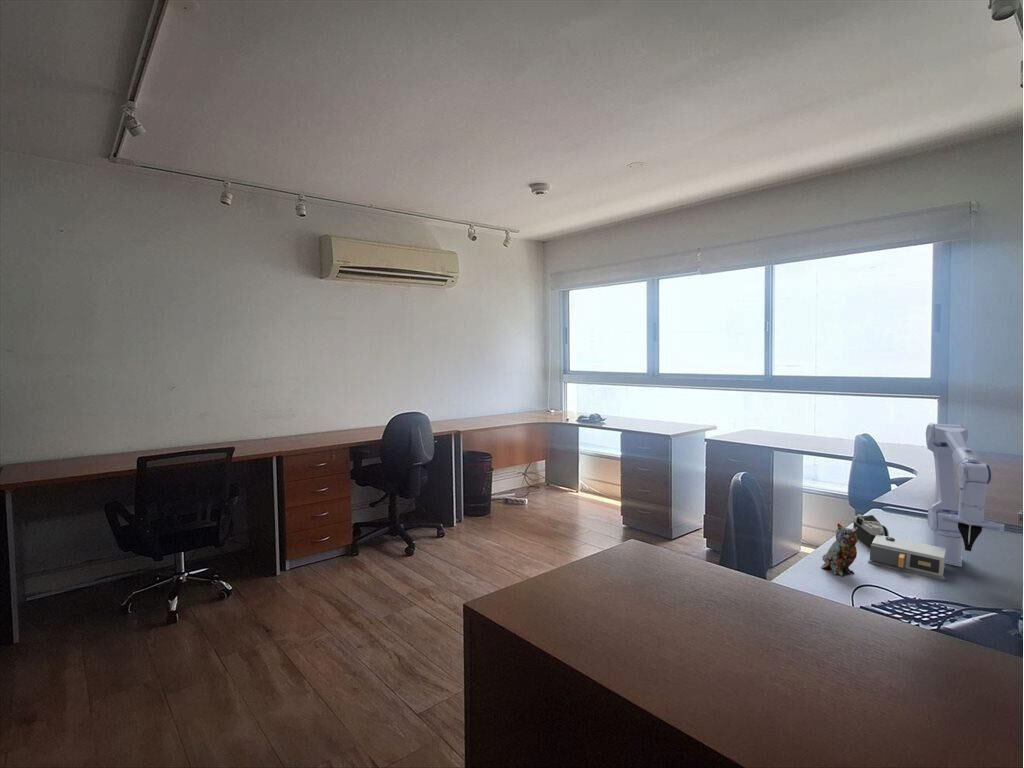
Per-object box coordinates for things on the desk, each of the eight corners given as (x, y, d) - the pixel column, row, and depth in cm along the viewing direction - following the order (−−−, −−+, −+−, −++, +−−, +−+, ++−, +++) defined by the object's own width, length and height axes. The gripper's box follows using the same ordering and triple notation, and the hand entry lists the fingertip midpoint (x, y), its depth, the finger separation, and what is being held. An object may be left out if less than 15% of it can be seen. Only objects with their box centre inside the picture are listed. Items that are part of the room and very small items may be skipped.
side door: (870, 558, 172) (871, 544, 172) (905, 566, 166) (906, 552, 166) (867, 563, 168) (868, 548, 168) (903, 572, 162) (904, 556, 162)
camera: (898, 554, 179) (900, 524, 178) (869, 552, 180) (871, 522, 179) (875, 537, 194) (877, 509, 193) (849, 535, 196) (850, 508, 195)
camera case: (873, 551, 180) (874, 532, 180) (946, 567, 168) (948, 547, 168) (867, 562, 171) (869, 542, 171) (944, 580, 159) (946, 558, 158)
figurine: (844, 565, 169) (847, 518, 168) (862, 578, 160) (865, 528, 159) (816, 565, 169) (819, 518, 168) (833, 577, 160) (836, 528, 159)
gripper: (938, 502, 159) (935, 547, 160) (1005, 513, 149) (1001, 560, 150) (940, 497, 164) (937, 540, 165) (1005, 507, 154) (1001, 553, 155)
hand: (968, 549), depth 158 cm, fingers closed
